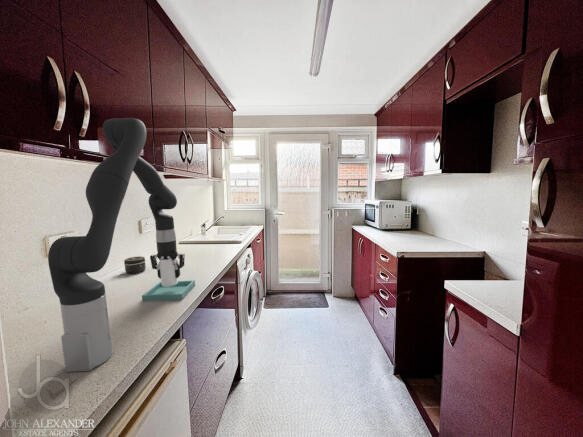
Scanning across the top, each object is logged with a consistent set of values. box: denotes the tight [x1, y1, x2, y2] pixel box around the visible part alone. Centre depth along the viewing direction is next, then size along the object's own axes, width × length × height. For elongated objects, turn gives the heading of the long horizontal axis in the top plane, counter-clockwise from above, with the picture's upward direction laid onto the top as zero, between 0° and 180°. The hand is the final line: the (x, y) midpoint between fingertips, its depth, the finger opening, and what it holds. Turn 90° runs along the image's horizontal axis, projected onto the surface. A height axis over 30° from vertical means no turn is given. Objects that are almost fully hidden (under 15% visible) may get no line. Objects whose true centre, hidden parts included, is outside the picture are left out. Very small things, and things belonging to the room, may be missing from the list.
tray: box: [141, 279, 196, 302], centre depth 114 cm, size 16×16×2 cm
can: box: [159, 258, 179, 287], centre depth 114 cm, size 6×6×12 cm
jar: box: [123, 255, 146, 275], centre depth 146 cm, size 10×10×8 cm
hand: (169, 277), depth 114 cm, fingers closed on can, 6 cm apart
